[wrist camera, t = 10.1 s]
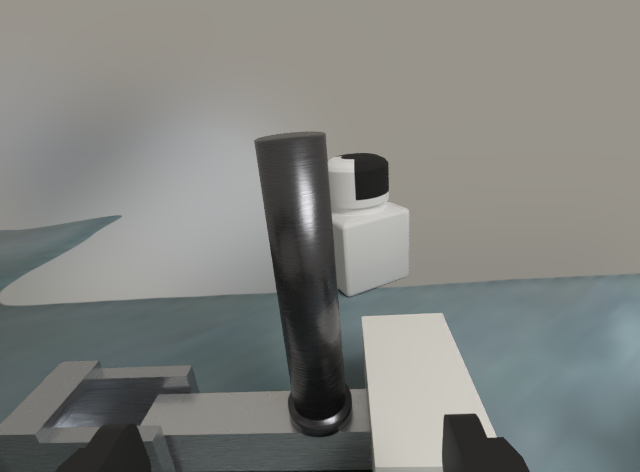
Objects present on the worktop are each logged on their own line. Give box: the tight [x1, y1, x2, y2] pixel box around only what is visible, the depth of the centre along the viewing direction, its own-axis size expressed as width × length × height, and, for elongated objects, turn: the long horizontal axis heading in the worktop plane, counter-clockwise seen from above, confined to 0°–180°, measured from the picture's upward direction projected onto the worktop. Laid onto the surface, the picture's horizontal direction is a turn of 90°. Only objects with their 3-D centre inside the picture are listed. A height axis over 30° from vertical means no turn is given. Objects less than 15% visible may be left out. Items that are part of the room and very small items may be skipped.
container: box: [328, 153, 409, 297], centre depth 39 cm, size 8×8×13 cm
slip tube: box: [140, 132, 373, 472], centre depth 18 cm, size 16×3×17 cm, turn 87°
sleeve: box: [0, 361, 199, 472], centre depth 21 cm, size 9×5×5 cm, turn 87°
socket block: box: [362, 313, 497, 472], centre depth 20 cm, size 5×10×6 cm, turn 177°
